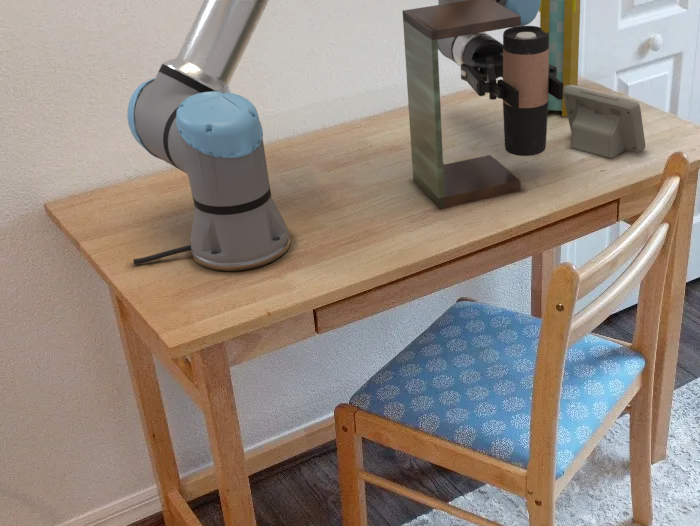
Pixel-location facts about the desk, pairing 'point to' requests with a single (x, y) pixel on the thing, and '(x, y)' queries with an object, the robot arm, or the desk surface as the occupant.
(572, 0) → the book
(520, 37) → the travel mug
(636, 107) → the digital clock
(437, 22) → the shelf
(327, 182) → the desk surface
